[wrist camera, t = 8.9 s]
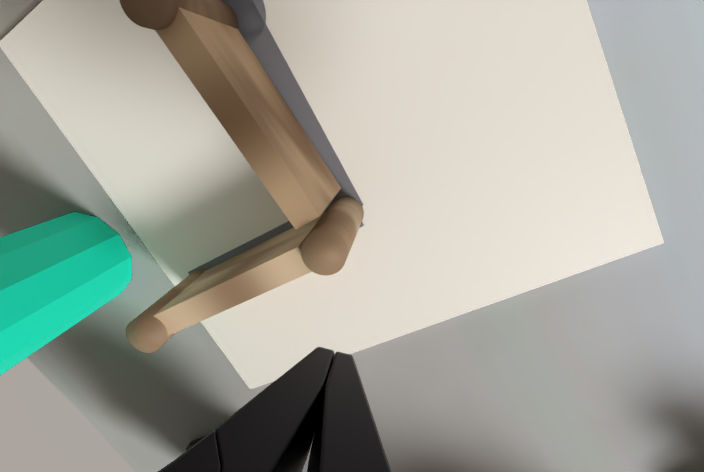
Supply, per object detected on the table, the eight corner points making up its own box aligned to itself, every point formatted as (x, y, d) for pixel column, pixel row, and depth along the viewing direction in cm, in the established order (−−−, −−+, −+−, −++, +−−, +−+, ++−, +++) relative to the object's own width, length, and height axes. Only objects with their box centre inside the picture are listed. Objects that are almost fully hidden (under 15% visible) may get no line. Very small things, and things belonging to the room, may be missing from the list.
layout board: (253, 384, 25) (249, 390, 25) (7, 44, 20) (-5, 43, 19) (657, 238, 18) (665, 243, 17) (457, -379, 12) (460, -401, 12)
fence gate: (346, 184, 19) (323, 215, 14) (317, 202, 19) (286, 238, 14) (221, -9, 16) (143, -51, 12) (192, 18, 17) (107, -12, 12)
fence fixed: (202, 299, 23) (141, 357, 18) (184, 275, 22) (118, 328, 17) (369, 220, 19) (354, 264, 14) (353, 190, 19) (331, 225, 14)
